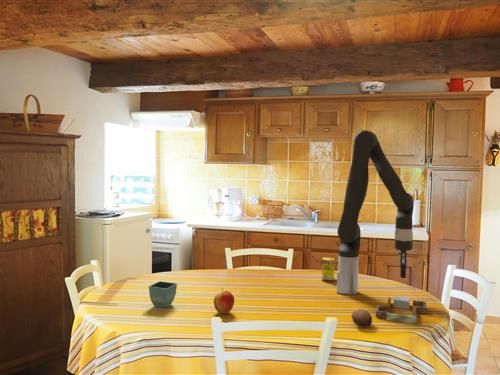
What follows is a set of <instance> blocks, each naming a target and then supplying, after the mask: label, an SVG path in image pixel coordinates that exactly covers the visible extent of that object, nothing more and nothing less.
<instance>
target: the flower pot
mask: <svg viewBox="0 0 500 375" xmlns="http://www.w3.org/2000/svg"><path fill="white" fill-rule="evenodd" d="M177 285H178V283H177V282H170V281H169V282H168V281H162V280H161V281H157V282H155V283H153V284H150V285H149V286H148V292H149V293H148V294H149V298H150V301H151V303H152V305H153V306H154V307H156V308H162V309H165V308H168V307H169V306H171V305H172V304H173V302H174V300H175V297H176V294H177V289H178V288H177V287H178V286H177Z"/></svg>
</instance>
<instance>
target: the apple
mask: <svg viewBox="0 0 500 375" xmlns="http://www.w3.org/2000/svg"><path fill="white" fill-rule="evenodd" d="M221 290H222V292H220V293H218V294H216V295H215V296H214V298H213V305H214V308H215V310H216V311H217V313H219V314H221V315H226V314H229V313H230V312H231V311H232V310H233V307H234V305H235V297H234V295H233V293H231V292H230V291H228V290H225V291H224V288H223V287H222V288H221Z"/></svg>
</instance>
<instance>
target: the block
mask: <svg viewBox="0 0 500 375" xmlns="http://www.w3.org/2000/svg"><path fill="white" fill-rule="evenodd" d="M410 300H411V297H409V296H400V295H395V296H394V298H393V308H395V307H396V309H405V310H409V309H410V304H411V303H410V302H411V301H410Z"/></svg>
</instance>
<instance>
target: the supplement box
mask: <svg viewBox="0 0 500 375" xmlns="http://www.w3.org/2000/svg"><path fill="white" fill-rule="evenodd" d="M321 266H322V267H321V273H322V274H321V281H322V282H334V281H335V280H334V279H335V258H333V257H322V265H321Z"/></svg>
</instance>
